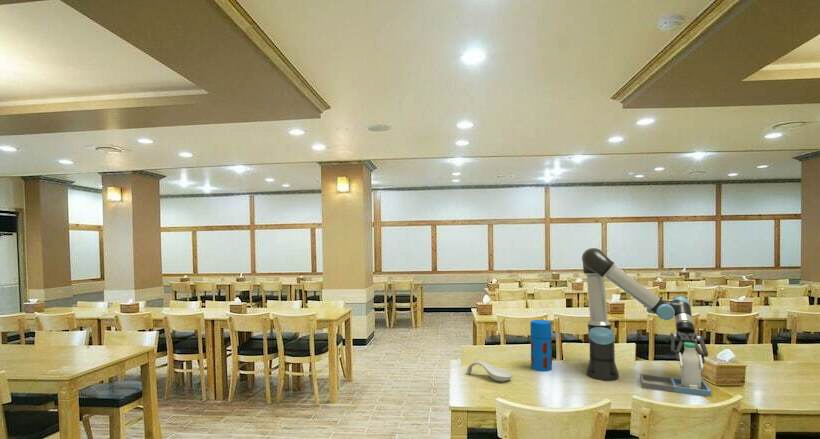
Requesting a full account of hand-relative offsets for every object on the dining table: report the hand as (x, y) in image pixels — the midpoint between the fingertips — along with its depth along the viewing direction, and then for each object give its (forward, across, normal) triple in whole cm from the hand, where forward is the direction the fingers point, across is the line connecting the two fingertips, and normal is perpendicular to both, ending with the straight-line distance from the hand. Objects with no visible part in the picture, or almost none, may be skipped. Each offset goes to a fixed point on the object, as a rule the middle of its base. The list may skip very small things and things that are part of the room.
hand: (691, 367), depth 192 cm
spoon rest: (+21, +90, +5) cm, 92 cm away
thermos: (+3, +67, -13) cm, 69 cm away
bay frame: (+5, +7, -10) cm, 13 cm away
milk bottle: (+4, 0, -9) cm, 10 cm away
